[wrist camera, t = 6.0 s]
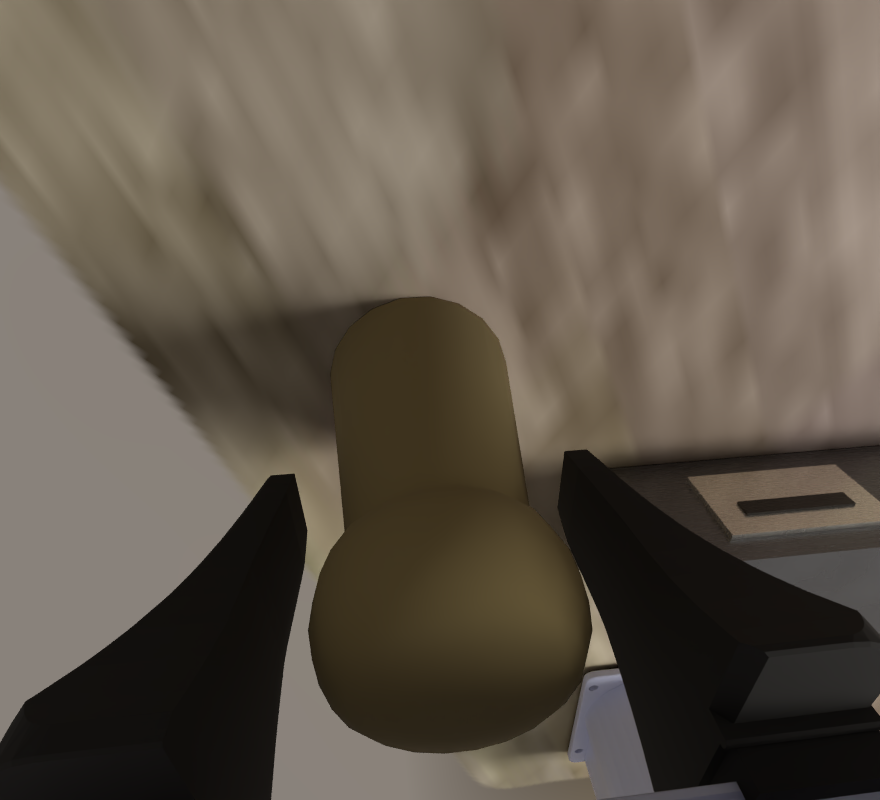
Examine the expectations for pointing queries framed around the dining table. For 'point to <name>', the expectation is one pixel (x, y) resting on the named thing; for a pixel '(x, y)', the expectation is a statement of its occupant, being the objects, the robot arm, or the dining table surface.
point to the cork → (439, 545)
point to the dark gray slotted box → (783, 516)
